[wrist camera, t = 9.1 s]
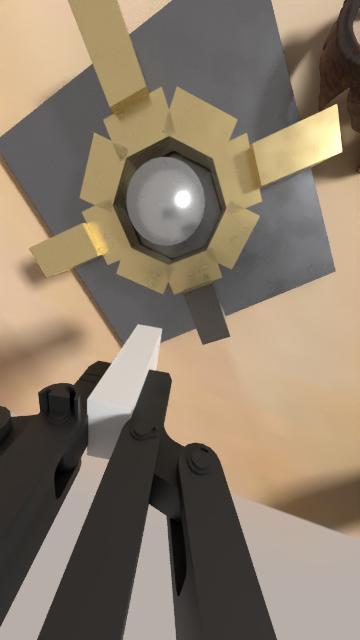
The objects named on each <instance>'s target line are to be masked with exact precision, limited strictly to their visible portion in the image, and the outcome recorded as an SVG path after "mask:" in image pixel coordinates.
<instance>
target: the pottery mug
mask: <svg viewBox="0 0 360 640" xmlns="http://www.w3.org/2000/svg"><path fill="white" fill-rule="evenodd" d="M359 8H360V0H345V1H344V4H343V7H342V9H341V11H340V14H339V17H338V20H337V22H336V23H335V25H334V27H333V28H332V30H331V32H330V34H329V36H328V38H327V40H326V42H325V44H324V47H323V51H324V52H323V54H322V56H321V58H320V66H319V67H320V76H321V84H320V95H319V108H318V110H319V111H322V110H323V109H324V108H325V106H326V105H327V104H328V103H329V102H330V101H331V100H332V99H334V98H335V97H337V96H338V95H339V94H341V93H342V92H343V91H344V90H346V89H347V88H350V90H349V94H348V98H347V108H348V111H349V114H350V116H351V119H352V121H351V126H352V129H353V130H355V131H357V132H360V45H359V44H358V42H357V39H356V37H355V35H354V32H353V21H354V18H355V15H356V13H357V12H358V10H359ZM357 172H359V173H360V166H359V167H358V168H357Z"/></svg>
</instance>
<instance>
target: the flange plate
mask: <svg viewBox="0 0 360 640" xmlns="http://www.w3.org/2000/svg"><path fill="white" fill-rule="evenodd" d="M129 35H130V38H131V41H132V44H133V47H134V50H135V53H136V56H137V59H138V62H139V65H140V68H141V71H142V73H143V76H144V79H145V82H146V85H147V88H148V91H149V93H151V92H153V91H155V90H156V89H158V88H160V87H162V89H163V92H164V95H165V98H166V102H167V105H168V108H169V109H170V106H171V103H172V100H173V97H174V94H175V90H176V87H179V88H181V89H183V90H185V91H187V92H188V93H190V94H192V95H194V96H196V97H198V98H199V99H201V100H203V101H205V102H207V103H209V104H210V105H212V106H214V107H216V108H218V109H220V110H221V111H223V112H225V113H227V114H229V115H231V116H232V117H234V118H236V119H238V120H237V123H236V125H235V128H234V130H233V133H232V136H231V138H230V140H232V139H235V138H237V137H239V136H241V135H243V134H245V133H247V136H248V140H249V145H250V146H251V145H252V143H255V142H257V141H259V140H261V139H263V138H265V137H267V136H269V135H272V134H274V133H276V132H278V131H280V130H282V129H284V128H287V127H289V126H291V125H293V124H295V123H297V122H299V121H300V120H299V116H298V111H297V107H296V103H295V99H294V95H293V90H292V86H291V82H290V78H289V74H288V69H287V65H286V61H285V57H284V53H283V48H282V44H281V40H280V36H279V32H278V27H277V23H276V19H275V15H274V11H273V6H272V2H271V0H172V1H171V2H170V3H168V4H167V5H166V6H165V7H163V8H162V9H161V10H160V11H158V12H157V13H156V14H155V15H153V16H152V17H151V18H150V19H148V20H147V21H146V22H144V23H143V24H142V25H141V26H139V27H138V28H137V29H136V30H134V31H133V32H132V33H131V34H129ZM112 114H114V112H113V111H112V110H111V108H110V106H109V104H108V101H107V99H106V96H105V94H104V91H103V89H102V86H101V84H100V81H99V78H98V76H97V73H96V71H95V68H94V66H93V64H92V65H90V66H89V67H88V68H87V69H85V70H84V71H83V72H82V73H80V74H79V75H78V76H77V77H75V78H74V79H73V80H72V81H70V82H69V83H68V84H67V85H65V86H64V87H63V88H62V89H60V90H59V91H58V92H56V93H55V94H54V95H53V96H51V97H50V98H49V99H48V100H46V101H45V102H44V103H43V104H41V105H40V106H39V107H38V108H36V109H35V110H34V111H33V112H31V113H30V114H29V115H28V116H26V117H25V118H24V119H23V120H21V121H20V122H19V123H18V124H16V125H15V126H14V127H12V128H11V129H10V130H9V131H7V132H6V133H5V134H4V135H2V136H1V137H0V153H1V155H2V156H3V158H4V159H5V161H6V162H7V164H8V165H9V167H10V169H11V170H12V172H13V173H14V175H15V176H16V178H17V179H18V181H19V183H20V184H21V186H22V187H23V189H24V190H25V192H26V193H27V195H28V197H29V198H30V200H31V201H32V203H33V204H34V206H35V207H36V209H37V211H38V212H39V214H40V215H41V217H42V218H43V220H44V221H45V223H46V225H47V226H48V228H49V229H50V231H51V232H52V234H53V235H54V236H56V235H58V234H60V233H62V232H64V231H67V230H69V229H71V228H73V227H75V226H77V225H79V224H81V223H87V222H86V220H85V218H84V216H83V214H82V212H83V211H85V210H87V209H89V208H91V207H93V206H95V205H93V204H91V203H89V202H87V201H85V200H83V199H81V198H80V194H81V189H82V185H83V180H84V176H85V171H86V167H87V162H88V158H89V153H90V149H91V144H92V140H93V135H94V132H95V133H97V134H99V135H101V136H103V137H105V138H107V139H109V140H110V141H111V138H110V136H109V134H108V131H107V129H106V126H105V124H104V121H103V119H105V118H107V117H109V116H110V115H112ZM260 193H261V198H262V202H259V203H257V204H255V205H252V206H250V207H247V208H245V209H247V210H249V211H251V212H253V213H255V214H257V215H259V216H260V217H259V219H258V221H257V223H256V225H255V227H254V229H253V230H252V232H251V234H250V236H249V238H248V240H247V242H246V244H245V245H244V247H243V249H242V251H241V253H240V255H239V257H238V259H237V260H236V262H235V264H234V266H233V268H232V269H229V268H227V267H225V266H223V265H221V264H219V263H218V265H219V269H220V272H221V275H222V278H220V279H217V280H214V281H212V282H213V285H214V288H215V291H216V294H217V297H218V300H219V303H220V306H221V309H222V312H223V315H224V318H225V317H226V316H227V315H230V314H232V313H235V312H237V311H240V310H242V309H245V308H247V307H249V306H252V305H254V304H257V303H259V302H262V301H264V300H267V299H269V298H272V297H274V296H276V295H279V294H281V293H284V292H286V291H289V290H291V289H294V288H296V287H298V286H301V285H303V284H306V283H308V282H311V281H313V280H316V279H318V278H320V277H323V276H325V275H328V274H330V273H333V272H335V267H334V262H333V258H332V254H331V250H330V246H329V241H328V237H327V233H326V229H325V225H324V220H323V216H322V212H321V208H320V204H319V199H318V195H317V191H316V187H315V183H314V178H313V174H312V170H311V168H310V169H307V170H305V171H303V172H300V173H298V174H295V175H293V176H291V177H288V178H286V179H284V180H281V181H279V182H277V183H274V184H272V185H270V186H267V187H265V188H262V189H260ZM126 202H127V203H126V207H125V210H126V213H127V215H128V217H129V220H130V222H131V224H132V227H133V229H134V231H135V234H136V236H137V238H138V241H139V243H140V245H141V246H143V247H145V248H148V249H150V250H152V251H154V252H156V253H158V254H161V255H163V256H165V257H167V258H169V259H171V260H174V259H176V258H179V257H181V256H184V255H186V254H189V253H191V252H194V251H196V250H199V249H202V248H204V247H206V245H207V243H208V240H209V238H210V236H211V234H212V232H213V230H214V227H215V225H216V223H217V221H218V219H219V217H220V215H221V212H222V208H221V205H220V201H219V198H218V194H217V191H216V188H215V184H214V181H213V177H212V174H211V170H210V169H209V168H207V167H205V166H203V165H201V164H199V163H197V162H195V161H193V160H191V159H189V158H188V157H186V156H184V155H182V154H180V153H178V152H176V151H174V150H173V151H171V152H169V153H167V154H165V155H163V156H161V157H159V158H155V159H152V160H150V161H148V162H146V163H145V164H143V165H142V166H141V167H139V168H137V170H136V172H135V174H134V175H133V177H132V179H131V181H130V183H129V186H128V190H127V199H126ZM120 261H121V260H119V261H116V262H114V263H112V264H109V265H107V263H106V261H105V259H104V257H103V256H102V257H100V258H97V259H95V260H93V261H90V262H88V263H86V264H83V265H81V266H78V267H76V268H75V270H76V271H77V273H78V274H79V276H80V277H81V279H82V280H83V282H84V284H85V285H86V287H87V288H88V290H89V291H90V293H91V294H92V296H93V298H94V299H95V301H96V302H97V304H98V305H99V307H100V308H101V310H102V312H103V313H104V315H105V316H106V318H107V319H108V321H109V322H110V324H111V326H112V327H113V329H114V330H115V332H116V333H117V335H118V336H119V338H120V339H121V341H122V343H123V344H125V343H126V341H127V340H128V338H129V337H130V335H131V334H132V332H133V331H134V329H135V328H136V326H137V325H138V324H139V325H145V326H151V327H156V328H162V334H161V341H160V343H161V342H164V341H166V340H169V339H171V338H174V337H176V336H179V335H181V334H183V333H186V332H188V331H191V330H193V329H196V326H195V324H194V321H193V319H192V316H191V313H190V311H189V308H188V306H187V303H186V301H185V298H184V296H183V292H180V293H178V294H175V295H174V293H173V291H172V288H171V286H170V284H169V283H168V285H167V287H166V289H165V291H164V293H163V294H161V293H159V292H157V291H154V290H152V289H150V288H148V287H145V286H143V285H141V284H139V283H136V282H134V281H132V280H129V279H127V278H125V277H123V276H120V275H118V274H116V273H117V270H118V267H119V264H120Z"/></svg>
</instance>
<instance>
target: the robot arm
mask: <svg viewBox="0 0 360 640" xmlns="http://www.w3.org/2000/svg"><path fill="white" fill-rule="evenodd" d="M161 334H162V328H156V327H151V326H145V325H139V324H138V325H137V326H136V328H135V329H134V331H133V332H132V334H131V335H130V337H129V338H128V340H127V341H126V343H125V344H124V346H123V347H122V349H121V350H120V352H119V353H118V355H117V356H116V358H115V359H114V361H113V362H112V363H108V362H102V361H97V362H96V363H94V364H92V365H90V366H89V367H88V369H87V370H86V371H85V372H84V374H83V375H82V376H81V377H80V378H79V380H78V381H77V382H76V383H75V384H74V385H72V384H69V383H59V384H53V385H50V386H48V387H46V388H44V389H42V390H41V391H40V392H38V395H39V404H40V413H39V414H37V415H30V416H17V417H11V415H10V411H9V410H8V409H7V408H6V407H2V406H0V626H1V625H2V622H3V621H4V619H5V616H6V615H7V613H8V611H9V609H10V607H11V605H12V603H13V601H14V599H15V597H16V595H17V593H18V591H19V589H20V587H21V585H22V583H23V581H24V579H25V577H26V575H27V573H28V571H29V569H30V567H31V565H32V563H33V561H34V559H35V557H36V555H37V553H38V551H39V549H40V547H41V545H42V543H43V541H44V539H45V537H46V535H47V533H48V531H49V529H50V527H51V525H52V523H53V522H54V519H55V517H56V516H57V514H58V512H59V510H60V507H61V506H62V504H63V502H64V500H65V498H66V496H67V494H68V492H69V490H70V488H71V486H72V484H73V482H74V480H75V478H76V476H77V474H78V472H79V470H80V466H81V457H82V454H83V453H84V451H85V449H86V447H87V455H90V456H95V457H100V458H105V459H110V460H109V463H108V465H107V467H106V470H105V472H104V475H103V477H102V480H101V483H100V485H99V487H98V490H97V492H96V495H95V497H94V500H93V502H92V505H91V508H90V510H89V512H88V515H87V518H86V520H85V522H84V525H83V527H82V530H81V532H80V535H79V537H78V540H77V542H76V544H75V547H74V550H73V552H72V555H71V557H70V560H69V562H68V564H67V567H66V569H65V572H64V574H63V577H62V579H61V582H60V584H59V587H58V589H57V592H56V594H55V597H54V599H53V602H52V604H51V607H50V609H49V612H48V614H47V617H46V619H45V622H44V624H43V627H42V629H41V632H40V634H39V636H38V639H37V640H123V635H124V630H125V625H126V620H127V614H128V609H129V603H130V599H131V594H132V588H133V583H134V578H135V573H136V567H137V563H138V557H139V552H140V546H141V542H142V536H143V532H144V526H145V521H146V516H147V511H148V505H149V504H150V505H151V506H153V507H155V508H156V509H158V510H159V511H160V512H162V513H163V514H165V515H166V516H167V525H168V539H169V551H170V564H171V577H172V589H173V602H174V615H175V628H176V640H277V638H276V635H275V632H274V629H273V626H272V623H271V620H270V616H269V613H268V610H267V607H266V604H265V601H264V598H263V595H262V591H261V588H260V585H259V582H258V579H257V576H256V573H255V570H254V566H253V563H252V560H251V557H250V554H249V550H248V547H247V544H246V541H245V538H244V535H243V532H242V529H241V525H240V522H239V519H238V516H237V513H236V510H235V507H234V503H233V501H232V497H231V494H230V491H229V488H228V485H227V481H226V478H225V475H224V472H223V469H222V466H221V463H220V460H219V458H218V456H217V454H216V453H215V452H214V451H213V450H212V449H211V448H210V447H208V446H206V445H204V444H200V443H192V444H188V445H186V446H185V447H184V446H182V445H180V444H178V443H176V442H175V441H174V440H172V439H171V438H170V437H169V436H168V435H167V433H166V431H165V428H164V421H165V416H166V411H167V406H168V400H169V394H170V389H171V383H172V379H171V377H170V374H169V373H165V372H160V371H156V367H157V362H158V355H159V348H160V341H161Z"/></svg>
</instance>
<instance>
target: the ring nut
mask: <svg viewBox="0 0 360 640" xmlns="http://www.w3.org/2000/svg"><path fill="white" fill-rule="evenodd" d="M68 2H69V4H70V7H71V9H72V12H73V15H74V17H75V20H76V22H77V25H78V27H79V30H80V32H81V35H82V38H83V40H84V43H85V45H86V48H87V50H88V53H89V55H90V58H91V61H92V63H93V66H94V68H95V71H96V73H97V76H98V78H99V81H100V84H101V86H102V89H103V91H104V94H105V96H106V99H107V101H108V104H109V106H110V108H111V110H112V111H113V112H114V114H112V115H110V116H109V117H107V118H105V119H103V121H104V124H105V126H106V129H107V131H108V134H109V136H110V138H111V141H110V140H109V139H107V138H105V137H103V136H101V135H99V134H97V133H95V132H94V135H93V140H92V144H91V149H90V153H89V158H88V162H87V167H86V171H85V176H84V180H83V185H82V189H81V194H80V198H81V199H83V200H85V201H87V202H89V203H91V204H93V205H95V206H93V207H91V208H89V209H87V210H85V211H83V212H82V214H83V216H84V218H85V220H86V222H87V223H81V224H79V225H77V226H75V227H73V228H71V229H69V230H67V231H64V232H62V233H60V234H58V235H56V236H54V237H52V238H49V239H47V240H45V241H43V242H41V243H39V244H37V245H35V246H32V247H30V248H29V250H30V251H31V253H32V255H33V256H34V258H35V260H36V261H37V263H38V265H39V266H40V268H41V270H42V271H43V273H44V275H45V276H46V278H48V277H51V276H53V275H56V274H59V273H62V272H65V271H68V270H71V269H74V268H76V267H78V266H81V265H83V264H86V263H88V262H90V261H93V260H95V259H97V258H100V257H102V256H103V257H104V259H105V261H106V263H107V265H109V264H112V263H114V262H116V261H119V260H121V261H120V264H119V267H118V270H117V273H116V274H118V275H120V276H123V277H125V278H127V279H129V280H132V281H134V282H136V283H139V284H141V285H143V286H145V287H148V288H150V289H152V290H154V291H157V292H159V293H161V294H163V293H164V291H165V289H166V287H167V285H168V283H169V284H170V286H171V288H172V291H173V293H174V295H175V294H178V293H180V292H183V296H184V298H185V301H186V303H187V306H188V308H189V311H190V313H191V316H192V319H193V321H194V324H195V326H196V329H197V331H198V334H199V336H200V339H201V342H202V344H203V345H204V344H207V343H210V342H214V341H217V340H220V339H224V338H227V337H230V334H229V331H228V327H227V324H226V321H225V318H224V315H223V312H222V309H221V306H220V303H219V300H218V297H217V294H216V291H215V288H214V285H213V282H212V281H214V280H217V279H220V278H222V275H221V272H220V269H219V265H218V263H219V264H221V265H223V266H225V267H227V268H229V269H232V268H233V266H234V264H235V262H236V260H237V259H238V257H239V255H240V253H241V251H242V249H243V247H244V245H245V244H246V242H247V240H248V238H249V236H250V234H251V232H252V230H253V229H254V227H255V225H256V223H257V221H258V219H259V217H260V216H259V215H257V214H255V213H253V212H251V211H249V210H247V209H245V208H247V207H250V206H252V205H255V204H257V203H259V202H262V198H261V193H260V189H262V188H265V187H267V186H270V185H272V184H274V183H277V182H279V181H281V180H284V179H286V178H288V177H291V176H293V175H295V174H298V173H300V172H303V171H305V170H307V169H310V168H312V167H314V166H316V165H318V164H319V163H321V162H323V161H325V160H327V159H329V158H331V157H333V156H335V155H337V154H339V153H341V152H342V144H341V135H340V125H339V115H338V106H337V104H336V105H334V106H331V107H329V108H327V109H325V110H323V111H321V112H319V113H316V114H314V115H312V116H310V117H308V118H306V119H304V120H301V121H299V122H297V123H295V124H293V125H291V126H289V127H287V128H284V129H282V130H280V131H278V132H276V133H274V134H272V135H269V136H267V137H265V138H263V139H261V140H259V141H257V142H255V143H252V145H251V146H250V145H249V140H248V136H247V133H245V134H243V135H241V136H239V137H237V138H235V139H232V140H230V138H231V136H232V133H233V130H234V128H235V125H236V123H237V120H238V119H236V118H234V117H232V116H231V115H229V114H227V113H225V112H223V111H221V110H220V109H218V108H216V107H214V106H212V105H210V104H209V103H207V102H205V101H203V100H201V99H199V98H198V97H196V96H194V95H192V94H190V93H188V92H187V91H185V90H183V89H181V88H179V87H176V90H175V94H174V97H173V100H172V103H171V106H170V109H169V108H168V105H167V102H166V98H165V95H164V92H163V89H162V87H160V88H158V89H156V90H155V91H153V92H151V93H149V91H148V88H147V85H146V82H145V79H144V76H143V73H142V71H141V68H140V65H139V62H138V59H137V56H136V53H135V50H134V47H133V44H132V41H131V38H130V35H129V32H128V29H127V26H126V23H125V20H124V18H123V15H122V12H121V9H120V6H119V3H118V0H68ZM173 150H174V151H176V152H178V153H180V154H182V155H184V156H186V157H188V158H189V159H191V160H193V161H195V162H197V163H199V164H201V165H203V166H205V167H207V168H209V169H210V170H211V174H212V177H213V181H214V184H215V188H216V191H217V194H218V198H219V201H220V205H221V208H222V212H221V215H220V217H219V219H218V221H217V223H216V225H215V227H214V230H213V232H212V234H211V236H210V238H209V240H208V243H207V245H206V247H204V248H202V249H199V250H196V251H194V252H191V253H189V254H186V255H184V256H181V257H179V258H176V259H174V260H171V259H169V258H167V257H165V256H163V255H161V254H158V253H156V252H154V251H152V250H150V249H148V248H145V247H143V246H141V245H140V243H139V241H138V238H137V236H136V234H135V231H134V229H133V227H132V224H131V222H130V220H129V217H128V215H127V213H126V210H125V207H126V203H127V202H126V199H127V190H128V186H129V183H130V181H131V179H132V177H133V175H134V174H135V172H136V170H137V168H139V167H141V166H142V165H143V164H145V163H146V162H148V161H150V160H152V159H155V158H159V157H161V156H163V155H165V154H167V153H169V152H171V151H173Z"/></svg>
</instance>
